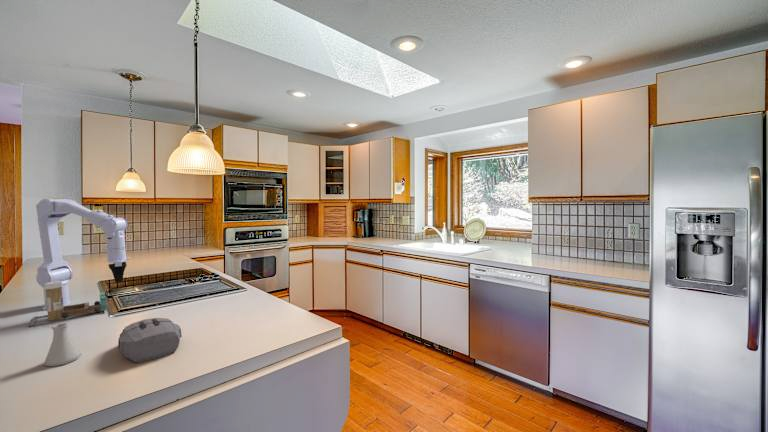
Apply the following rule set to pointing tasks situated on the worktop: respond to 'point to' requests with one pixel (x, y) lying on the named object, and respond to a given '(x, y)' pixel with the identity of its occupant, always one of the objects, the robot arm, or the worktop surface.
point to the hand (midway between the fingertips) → (118, 281)
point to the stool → (84, 308)
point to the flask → (61, 347)
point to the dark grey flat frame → (58, 320)
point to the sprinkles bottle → (54, 299)
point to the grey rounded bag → (149, 339)
